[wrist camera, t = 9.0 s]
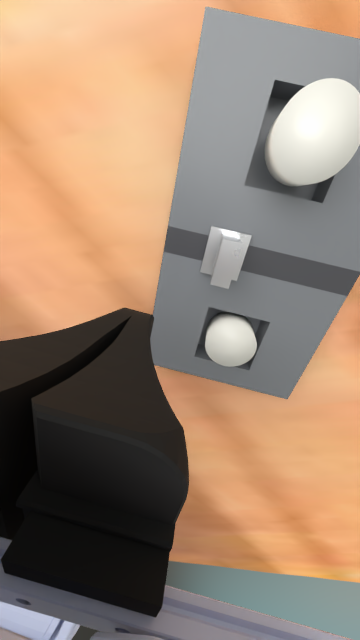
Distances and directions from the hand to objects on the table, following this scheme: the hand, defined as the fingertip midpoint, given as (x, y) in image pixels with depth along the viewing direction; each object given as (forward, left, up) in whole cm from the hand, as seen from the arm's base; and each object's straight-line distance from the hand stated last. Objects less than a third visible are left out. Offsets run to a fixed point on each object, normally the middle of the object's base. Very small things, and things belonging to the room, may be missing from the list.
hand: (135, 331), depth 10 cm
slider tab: (+3, -3, -7) cm, 8 cm away
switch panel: (+3, -6, -9) cm, 11 cm away
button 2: (+9, -6, -7) cm, 12 cm away
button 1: (-3, -6, -8) cm, 10 cm away
